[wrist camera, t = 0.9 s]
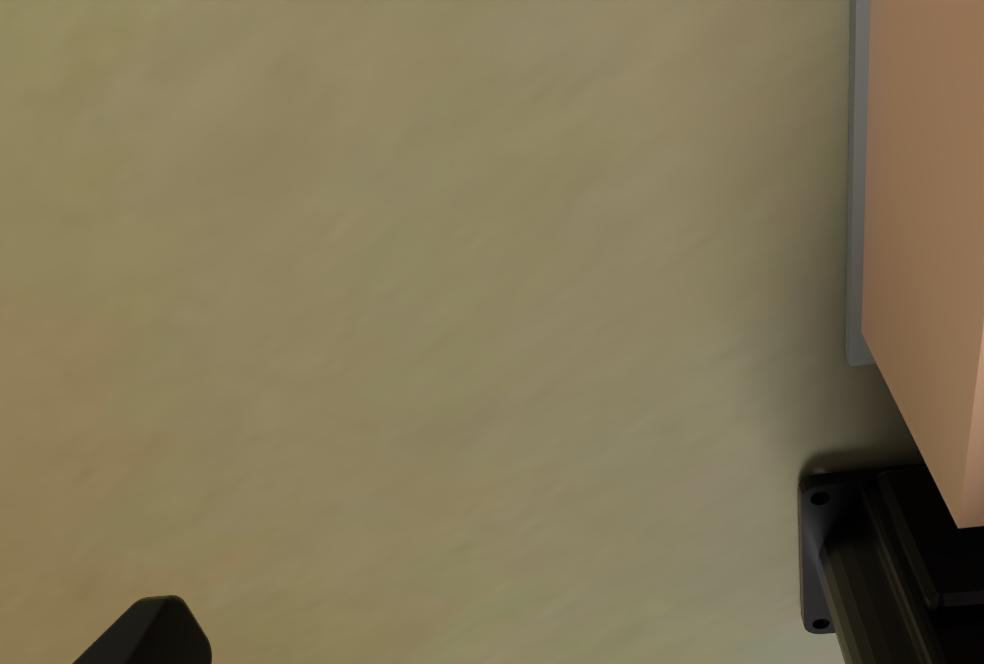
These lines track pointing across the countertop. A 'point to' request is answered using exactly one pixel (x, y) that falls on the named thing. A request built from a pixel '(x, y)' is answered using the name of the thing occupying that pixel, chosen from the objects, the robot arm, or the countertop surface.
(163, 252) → the countertop surface
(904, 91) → the tile
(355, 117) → the countertop surface
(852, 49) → the mat
